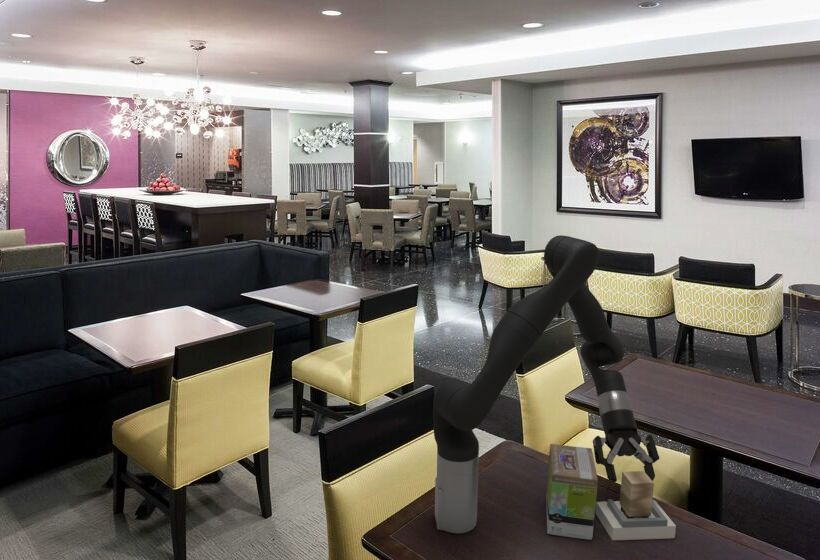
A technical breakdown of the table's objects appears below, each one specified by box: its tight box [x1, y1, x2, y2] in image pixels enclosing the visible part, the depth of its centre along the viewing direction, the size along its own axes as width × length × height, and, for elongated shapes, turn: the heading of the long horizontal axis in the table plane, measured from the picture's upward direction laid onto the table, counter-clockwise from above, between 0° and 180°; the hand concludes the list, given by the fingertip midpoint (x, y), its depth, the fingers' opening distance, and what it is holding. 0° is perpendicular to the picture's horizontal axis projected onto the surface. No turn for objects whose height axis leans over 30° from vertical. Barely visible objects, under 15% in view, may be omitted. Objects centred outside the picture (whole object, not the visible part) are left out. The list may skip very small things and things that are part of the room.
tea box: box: [545, 443, 599, 541], centre depth 136 cm, size 15×10×15 cm
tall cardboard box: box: [619, 470, 655, 519], centre depth 133 cm, size 5×5×9 cm
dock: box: [595, 498, 677, 541], centre depth 134 cm, size 14×10×4 cm
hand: (632, 481), depth 136 cm, fingers open, 8 cm apart
